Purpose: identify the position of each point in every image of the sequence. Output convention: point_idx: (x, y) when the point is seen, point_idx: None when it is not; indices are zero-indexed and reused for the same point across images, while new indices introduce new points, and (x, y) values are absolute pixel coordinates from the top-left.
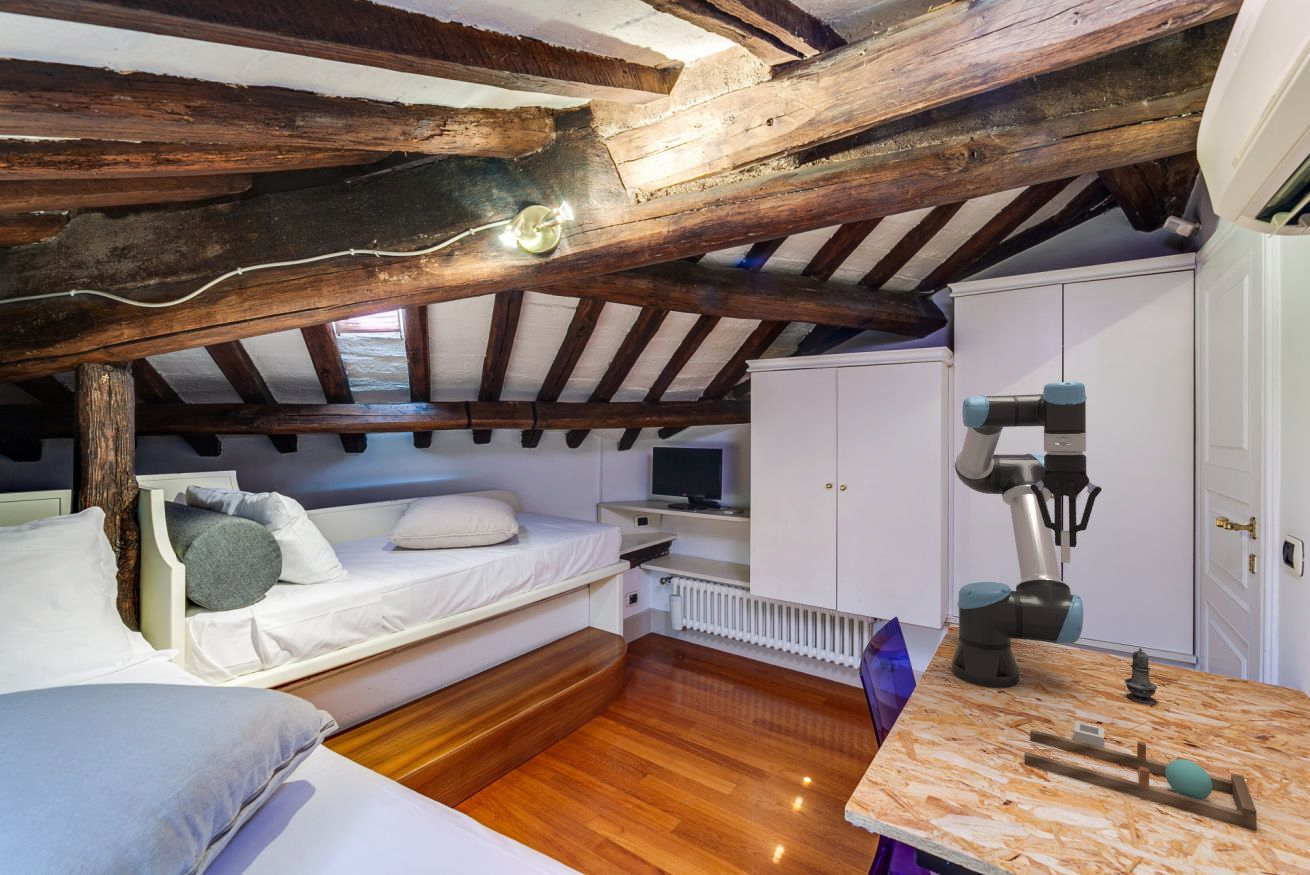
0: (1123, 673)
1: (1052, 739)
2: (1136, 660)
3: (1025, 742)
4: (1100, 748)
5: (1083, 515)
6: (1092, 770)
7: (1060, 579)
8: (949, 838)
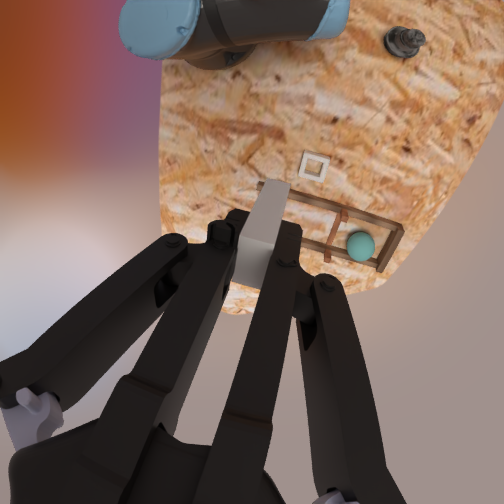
0: None
1: None
2: (408, 42)
3: (253, 191)
4: (313, 202)
5: (305, 375)
6: None
7: None
8: None
